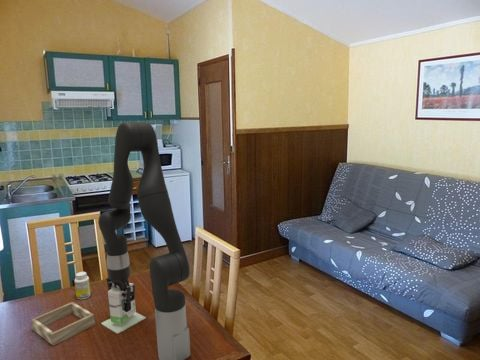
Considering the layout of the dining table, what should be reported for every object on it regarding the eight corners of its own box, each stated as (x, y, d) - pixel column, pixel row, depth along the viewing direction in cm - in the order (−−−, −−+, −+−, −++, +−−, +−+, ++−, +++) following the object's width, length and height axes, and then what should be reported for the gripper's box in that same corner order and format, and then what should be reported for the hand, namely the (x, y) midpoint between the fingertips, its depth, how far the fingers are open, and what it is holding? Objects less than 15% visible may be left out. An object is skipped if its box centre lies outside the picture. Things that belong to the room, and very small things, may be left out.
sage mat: (145, 318, 139) (145, 317, 139) (117, 334, 130) (117, 332, 130) (129, 309, 145) (129, 308, 145) (101, 324, 136) (100, 323, 136)
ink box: (121, 324, 133) (118, 293, 130) (110, 322, 134) (107, 291, 132) (136, 312, 140) (133, 282, 138) (125, 309, 142) (122, 280, 140)
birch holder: (94, 324, 136) (93, 314, 135) (53, 345, 125) (51, 334, 124) (73, 311, 145) (72, 301, 144) (32, 329, 134) (31, 319, 133)
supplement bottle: (83, 292, 160) (80, 269, 158) (93, 294, 158) (91, 271, 156) (73, 298, 155) (70, 275, 153) (84, 301, 153) (81, 277, 151)
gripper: (139, 265, 132) (143, 309, 135) (115, 256, 141) (119, 298, 144) (121, 273, 126) (125, 319, 129) (97, 263, 135) (102, 306, 138)
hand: (122, 308), depth 137 cm, fingers closed on ink box, 6 cm apart
